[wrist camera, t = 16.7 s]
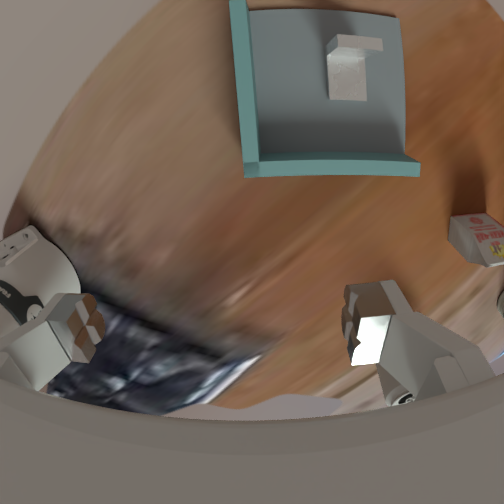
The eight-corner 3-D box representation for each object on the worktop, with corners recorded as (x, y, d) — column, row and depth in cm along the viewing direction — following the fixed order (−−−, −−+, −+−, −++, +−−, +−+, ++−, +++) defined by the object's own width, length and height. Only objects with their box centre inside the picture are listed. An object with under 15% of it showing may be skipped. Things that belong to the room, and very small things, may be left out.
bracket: (324, 47, 25) (337, 34, 19) (360, 49, 25) (382, 38, 18) (327, 99, 28) (341, 99, 22) (363, 100, 27) (385, 102, 21)
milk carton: (482, 235, 34) (519, 272, 25) (447, 240, 35) (483, 280, 26) (485, 212, 32) (526, 246, 24) (450, 215, 33) (490, 252, 25)
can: (389, 325, 43) (410, 385, 32) (420, 335, 44) (443, 390, 33) (364, 355, 46) (377, 414, 36) (395, 363, 47) (411, 417, 37)
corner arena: (248, 166, 33) (244, 177, 28) (235, 13, 24) (228, 0, 20) (401, 165, 31) (419, 176, 27) (397, 19, 22) (414, 10, 18)
